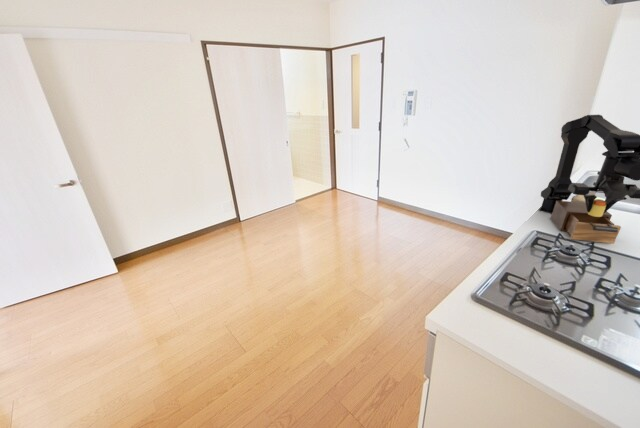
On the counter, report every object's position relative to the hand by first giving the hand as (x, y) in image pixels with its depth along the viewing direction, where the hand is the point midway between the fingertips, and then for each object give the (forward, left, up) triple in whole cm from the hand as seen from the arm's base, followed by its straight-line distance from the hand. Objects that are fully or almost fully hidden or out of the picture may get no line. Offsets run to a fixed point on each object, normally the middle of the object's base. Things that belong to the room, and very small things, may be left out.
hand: (595, 212), depth 103 cm
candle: (-7, +19, -11) cm, 23 cm away
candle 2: (-1, +24, -11) cm, 26 cm away
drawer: (+1, -2, -10) cm, 10 cm away
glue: (0, 0, -1) cm, 1 cm away
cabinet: (-5, +8, -11) cm, 14 cm away
